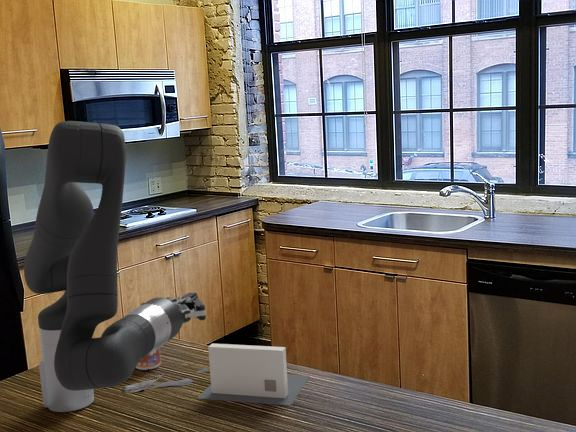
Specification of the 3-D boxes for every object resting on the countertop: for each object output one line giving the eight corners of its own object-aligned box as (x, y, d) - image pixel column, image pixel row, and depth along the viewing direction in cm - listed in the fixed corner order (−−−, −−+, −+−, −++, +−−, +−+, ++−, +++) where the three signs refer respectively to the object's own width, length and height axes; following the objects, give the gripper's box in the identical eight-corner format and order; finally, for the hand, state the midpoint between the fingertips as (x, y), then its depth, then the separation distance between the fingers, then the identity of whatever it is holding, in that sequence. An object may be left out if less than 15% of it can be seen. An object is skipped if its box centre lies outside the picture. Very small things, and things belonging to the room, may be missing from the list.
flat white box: (211, 393, 139) (208, 346, 138) (215, 388, 141) (212, 343, 140) (285, 398, 135) (282, 350, 133) (288, 393, 137) (285, 346, 135)
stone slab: (208, 365, 154) (207, 379, 144) (209, 372, 154) (208, 387, 145) (128, 374, 153) (122, 389, 143) (129, 382, 153) (123, 398, 143)
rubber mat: (197, 401, 137) (196, 398, 137) (224, 373, 151) (224, 370, 151) (290, 408, 131) (290, 405, 131) (310, 378, 146) (310, 375, 146)
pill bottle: (134, 372, 155) (129, 325, 153) (135, 362, 161) (131, 318, 159) (161, 368, 156) (157, 323, 154) (161, 359, 162) (157, 315, 160)
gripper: (184, 305, 107) (224, 278, 124) (111, 303, 111) (160, 277, 128) (188, 350, 109) (227, 318, 125) (116, 346, 112) (163, 315, 129)
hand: (193, 297), depth 126 cm, fingers closed
